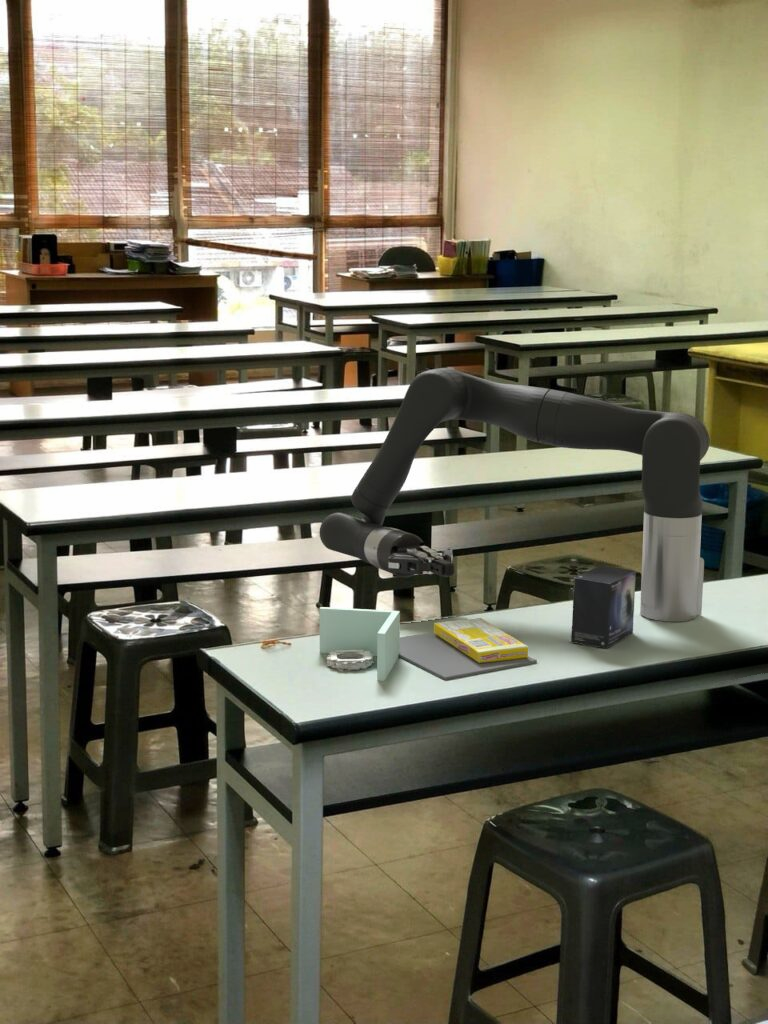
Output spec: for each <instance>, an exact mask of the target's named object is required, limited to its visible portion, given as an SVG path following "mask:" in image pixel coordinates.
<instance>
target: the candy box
mask: <svg viewBox="0 0 768 1024" xmlns="http://www.w3.org/2000/svg"><path fill="white" fill-rule="evenodd" d="M433 632H434V634H436V635H438V636H439V637H441V638H442V639H444V640H445V641H447V642H448V643H450V644H451V645H453V646H454V647H456V648H457V649H459V650H460V651H462V652H463V653H465V654H466V655H468V656H469V657H471V658H472V659H474V660H475V661H477V662H478V663H485V662H494V661H503V660H512V659H521V658H527V657H528V656H529V646H528V645H526V644H524V642H522V641H520V640H518V639H517V638H515V637H513V636H511V635H509V634H508V633H507V632H505V631H504V630H502V629H500V628H498V627H497V626H494V625H493V624H492V623H490V622H488V621H486V620H485V619H483V618H482V617H477V618H470V619H467V618H466V619H460V620H452V621H451V620H450V621H441V622H434V623H433Z"/></svg>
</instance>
